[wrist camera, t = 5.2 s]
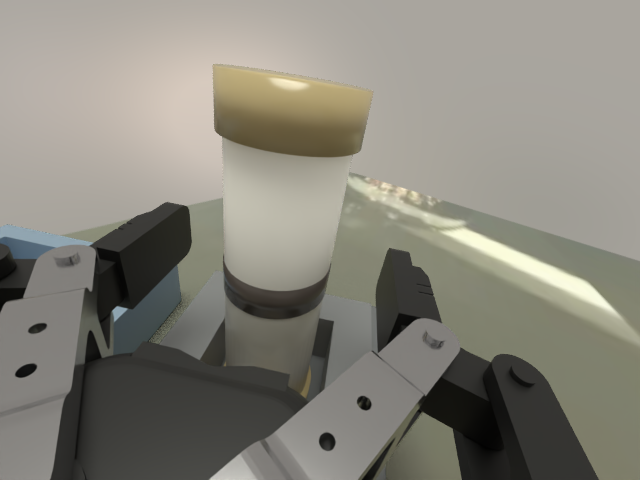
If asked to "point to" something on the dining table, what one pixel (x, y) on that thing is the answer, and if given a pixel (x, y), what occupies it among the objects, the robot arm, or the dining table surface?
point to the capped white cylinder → (281, 207)
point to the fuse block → (329, 346)
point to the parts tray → (127, 322)
